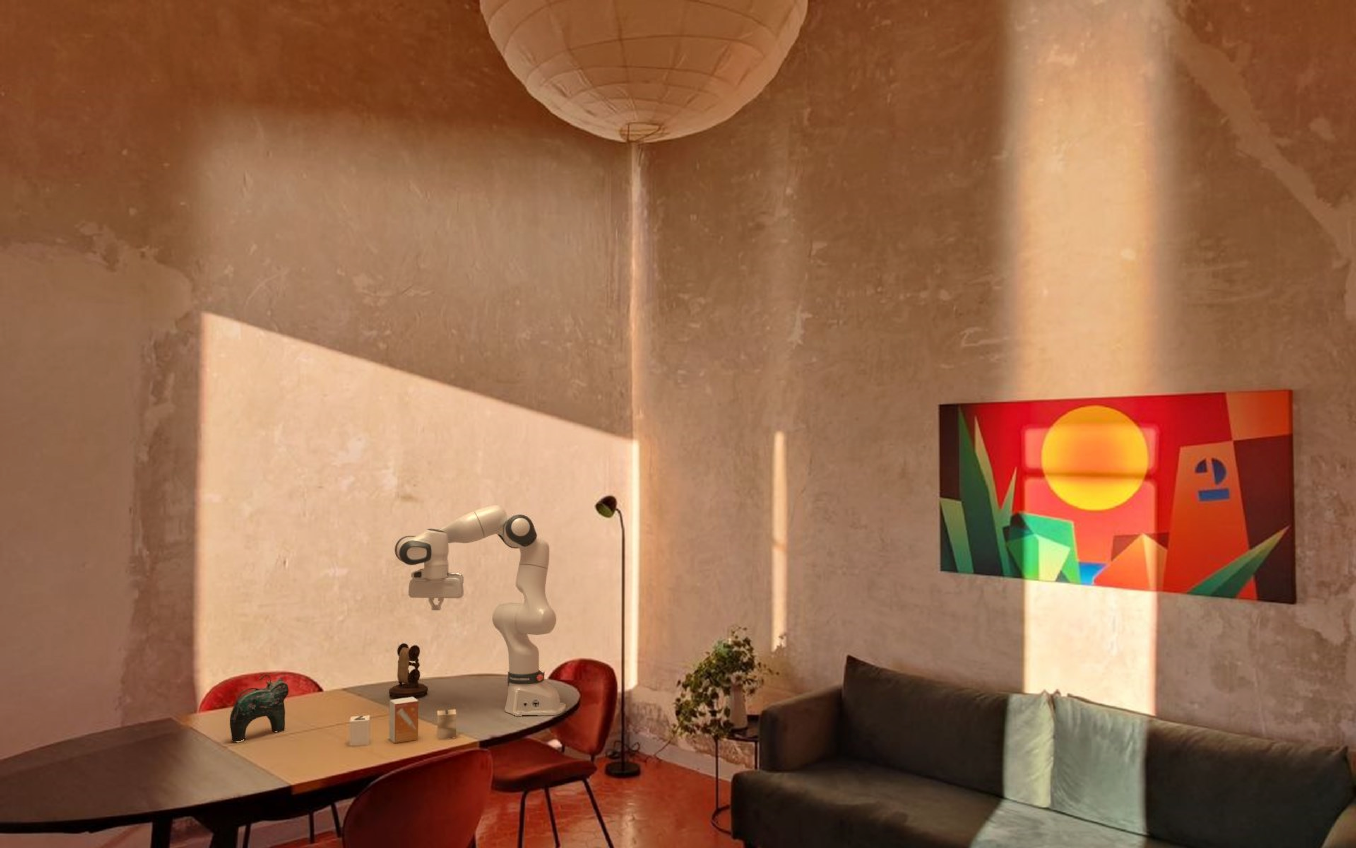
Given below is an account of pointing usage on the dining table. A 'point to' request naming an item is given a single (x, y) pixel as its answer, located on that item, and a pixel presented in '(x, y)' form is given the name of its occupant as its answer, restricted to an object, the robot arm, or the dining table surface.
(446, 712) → the beech block
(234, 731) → the bronze animal figurine
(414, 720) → the small box
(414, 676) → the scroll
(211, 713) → the dining table surface
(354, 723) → the off-white block
